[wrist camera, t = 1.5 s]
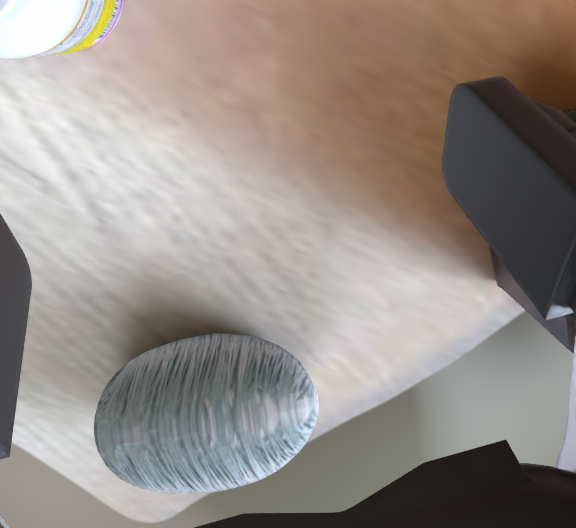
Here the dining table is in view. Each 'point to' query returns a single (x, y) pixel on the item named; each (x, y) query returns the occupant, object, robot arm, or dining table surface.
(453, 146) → the robot arm
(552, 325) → the manual coffee grinder
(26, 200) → the dining table surface
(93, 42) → the supplement bottle
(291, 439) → the grey yarn ball
